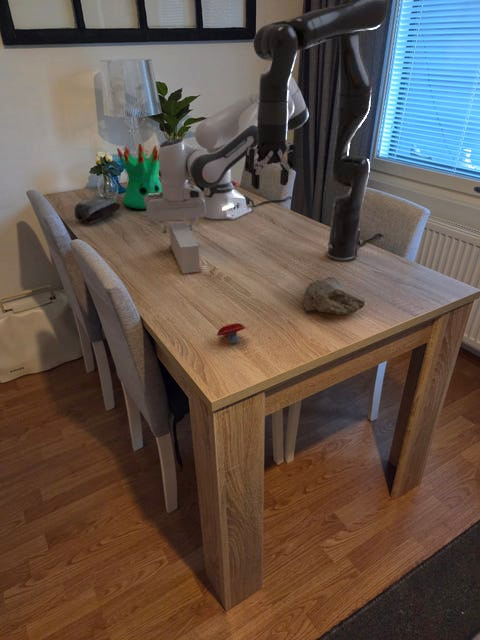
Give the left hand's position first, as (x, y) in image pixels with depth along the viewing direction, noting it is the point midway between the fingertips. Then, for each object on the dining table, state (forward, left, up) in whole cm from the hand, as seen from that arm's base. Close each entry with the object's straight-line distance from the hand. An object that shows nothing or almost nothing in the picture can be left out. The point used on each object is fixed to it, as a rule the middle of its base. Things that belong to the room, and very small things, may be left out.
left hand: (177, 231), depth 155 cm
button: (+25, +55, -7) cm, 61 cm away
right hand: (-2, +41, +23) cm, 47 cm away
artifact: (-7, +61, -7) cm, 61 cm away
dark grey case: (+5, -49, -7) cm, 50 cm away
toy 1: (-21, -53, -7) cm, 58 cm away
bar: (+3, +7, -7) cm, 11 cm away
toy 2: (-58, -53, -7) cm, 79 cm away
